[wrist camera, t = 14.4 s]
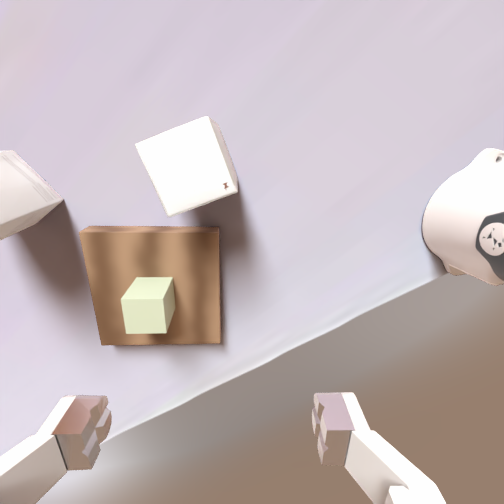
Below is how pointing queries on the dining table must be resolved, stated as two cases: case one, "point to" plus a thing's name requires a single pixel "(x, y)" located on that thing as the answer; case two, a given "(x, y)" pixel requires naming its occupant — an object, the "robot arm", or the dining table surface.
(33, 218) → the skincare box
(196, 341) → the walnut stand
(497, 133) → the dining table surface
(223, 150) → the supplement box
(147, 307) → the sage block
